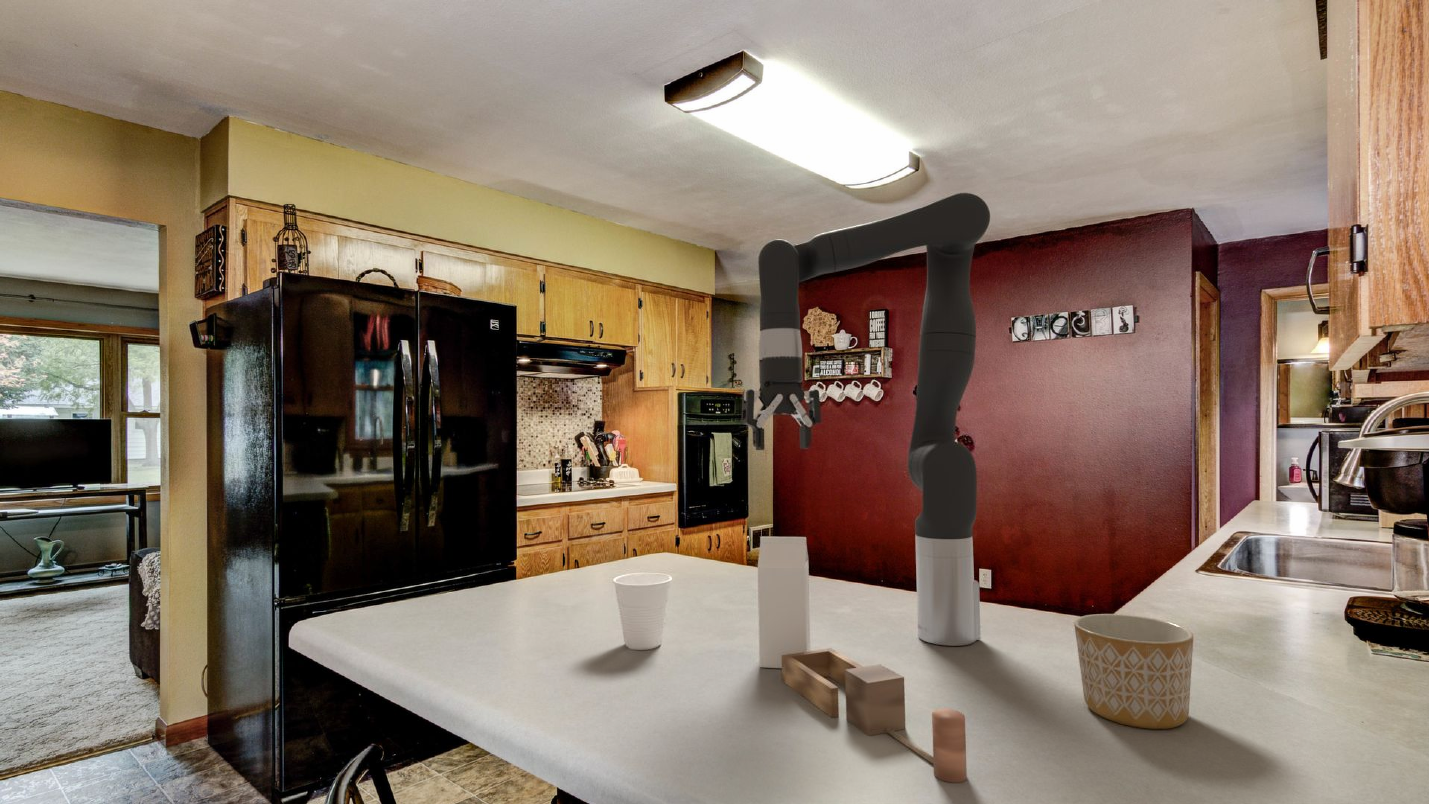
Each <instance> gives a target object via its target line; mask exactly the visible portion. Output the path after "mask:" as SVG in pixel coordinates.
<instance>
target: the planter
mask: <svg viewBox="0 0 1429 804" xmlns="http://www.w3.org/2000/svg"><path fill="white" fill-rule="evenodd" d="M1073 624H1074V626H1073V627H1074V634H1075V639H1076V648H1077V656H1078V662H1079V669H1080V676H1081V677H1080V678H1081V684H1082V692H1083V698H1084V702H1085V704H1086V706H1087V707H1088V708H1089V709H1090V710H1091V711H1092V712H1094V713H1095V714H1096V715H1098V716H1100V717H1102V718H1104V719H1107V720H1108V721H1111V722H1114V723H1117V724H1121V725H1123V726H1129V727H1133V728H1138V729H1139V728H1140V729H1147V730H1148V729H1149V730H1166V729H1172V728H1177V727H1179V726H1181V725H1183V724H1184V723H1185V722H1186V721H1187V720H1188V718H1189V714H1190V699H1191V697H1190V696H1191V685H1192V667H1193V652H1194V651H1193V650H1194V648H1193V647H1194V633H1193V632H1192V631H1191V630H1189V629H1188V628H1186V627H1184V626H1182V625H1179V624H1176V623H1174V622H1170V621H1167V620H1163V619H1162V620H1161V619H1159V618H1158V619H1157V618H1153V617H1146V616H1140V615H1130V614H1117V613H1100V614H1099V613H1097V614H1086V615H1083V616H1080V617H1077V618H1076V619H1075V620H1074V621H1073Z"/></svg>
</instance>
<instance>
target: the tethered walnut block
mask: <svg viewBox="0 0 1429 804" xmlns="http://www.w3.org/2000/svg"><path fill="white" fill-rule="evenodd" d="M845 683H846V686H845V711H846V712H845V714H846V715H845V716H846V717H845V718H846V720H847V722H849V723H851V724H852V725H854V726H855V727H856V728H858V729H859V730H860V731H862V732H863V733H865V734H866V735H867V736H869V737H870V736H876V735H880V734H885V733H887V734H888V735H890V736H892V738H895V739H896V740H897V741H898V742H900V743H902V744H903V745H905V746H906V747H908V748H909V749H910V750H912V751H914V752H915V753H917V754H918V755H919V756H921V757H922V758H924V760H927V761H928V762H930V764H932V765H933V775H934V777H935V778H936V779H938V780H940V781H943V782H945V783H953V784H959V783H962V782H964V781H966V780H967V778H968V777H967V776H968V774H967V773H968V772H967V770H968V769H967V743H966V742H967V741H966V738H967V737H966V735H967V734H966V716H965V714H964V713H962V712H960V711H958V710H955V709H950V708H940V709H935V710H933V711H932V712H931V722H932V723H931V724H932V726H931V728H932V755H930V753H928V752H927V751H924V749H922V748H920V747H919V746H917V745H916V744H914V743H913V742H911V741H910V740H909V739H908V738H906V737H904V736H903V735H901V734H899V733H898V732H897V731H901V730H905V729H907V728H906V703H905V702H906V698H905V677H904V676H903V675H901V674H899V673H897V672H895V671H894V670H891V669H890V668H888V667H886V666H884V665H882V664H880V663H879V664H873V665H868V666H867V665H866V666H863V667H859V668H852V669H846V670H845Z"/></svg>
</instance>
